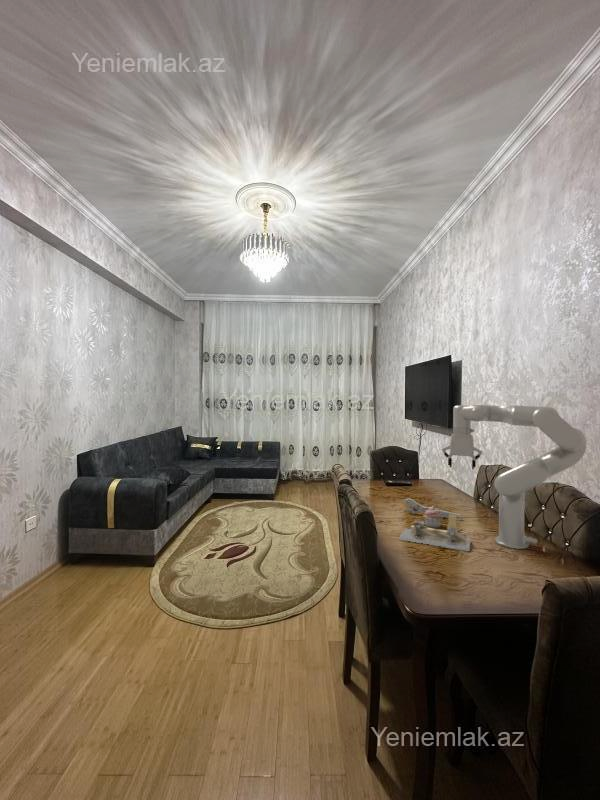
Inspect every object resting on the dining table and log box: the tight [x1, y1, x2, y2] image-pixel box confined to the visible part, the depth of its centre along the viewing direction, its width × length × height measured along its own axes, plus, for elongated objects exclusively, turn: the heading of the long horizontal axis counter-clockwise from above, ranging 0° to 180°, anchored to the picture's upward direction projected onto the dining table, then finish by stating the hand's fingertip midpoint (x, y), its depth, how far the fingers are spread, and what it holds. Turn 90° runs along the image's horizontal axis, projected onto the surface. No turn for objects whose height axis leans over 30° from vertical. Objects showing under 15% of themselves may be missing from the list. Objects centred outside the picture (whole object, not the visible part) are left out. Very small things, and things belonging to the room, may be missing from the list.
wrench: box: [402, 498, 463, 521], centre depth 195 cm, size 8×2×30 cm
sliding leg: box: [446, 514, 459, 540], centre depth 159 cm, size 4×6×9 cm, turn 153°
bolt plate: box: [399, 527, 471, 552], centre depth 160 cm, size 28×12×2 cm, turn 63°
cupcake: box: [422, 505, 444, 529], centre depth 180 cm, size 9×9×10 cm
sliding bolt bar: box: [410, 520, 467, 541], centre depth 161 cm, size 23×6×5 cm, turn 63°
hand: (461, 467), depth 171 cm, fingers open, 9 cm apart
